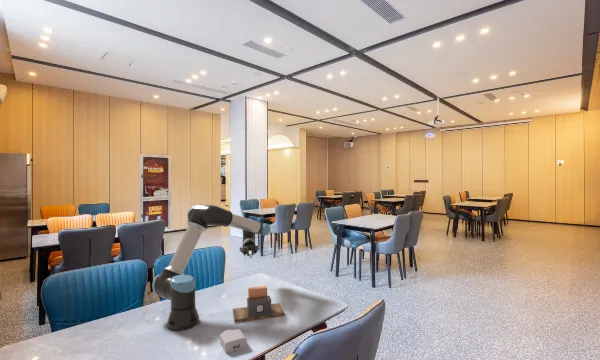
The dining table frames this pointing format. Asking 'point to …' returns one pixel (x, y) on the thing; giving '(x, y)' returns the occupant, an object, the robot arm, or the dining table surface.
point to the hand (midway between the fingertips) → (250, 256)
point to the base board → (242, 316)
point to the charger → (233, 340)
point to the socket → (258, 301)
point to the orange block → (257, 294)
